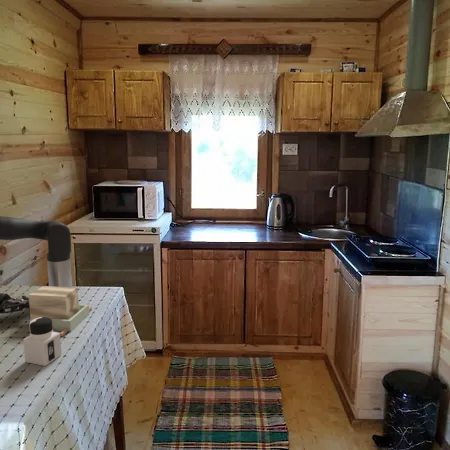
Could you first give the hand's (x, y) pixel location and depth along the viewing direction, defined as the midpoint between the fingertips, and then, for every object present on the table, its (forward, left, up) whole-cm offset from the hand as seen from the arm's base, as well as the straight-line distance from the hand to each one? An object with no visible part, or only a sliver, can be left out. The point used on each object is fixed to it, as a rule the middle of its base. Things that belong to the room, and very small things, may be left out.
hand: (37, 305), depth 169 cm
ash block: (0, +7, -6) cm, 9 cm away
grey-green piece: (0, +13, -6) cm, 14 cm away
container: (+28, +17, -6) cm, 33 cm away
